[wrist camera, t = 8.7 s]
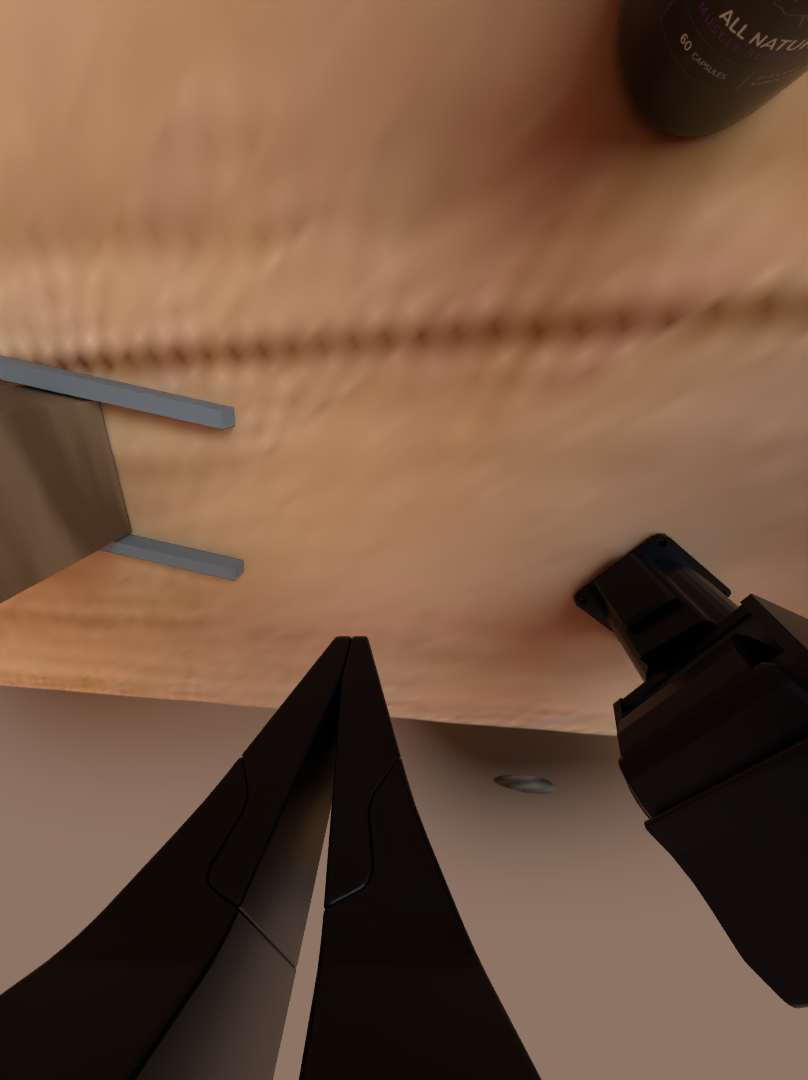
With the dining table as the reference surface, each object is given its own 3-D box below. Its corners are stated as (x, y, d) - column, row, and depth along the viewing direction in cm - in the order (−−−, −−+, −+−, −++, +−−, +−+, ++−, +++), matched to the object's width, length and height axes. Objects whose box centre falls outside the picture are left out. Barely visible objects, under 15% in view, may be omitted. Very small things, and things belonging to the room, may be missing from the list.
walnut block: (98, 400, 19) (-140, 427, 12) (131, 532, 24) (-25, 616, 16) (32, 385, 19) (-248, 402, 12) (77, 519, 24) (-104, 598, 16)
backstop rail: (232, 384, 18) (144, 395, 13) (244, 584, 25) (190, 643, 20) (-136, 302, 18) (-367, 280, 13) (-24, 522, 25) (-147, 564, 20)
